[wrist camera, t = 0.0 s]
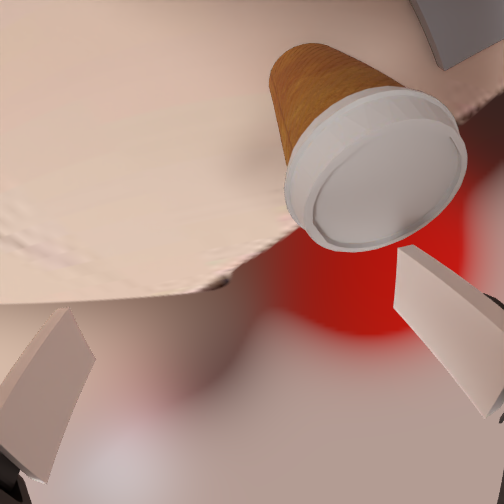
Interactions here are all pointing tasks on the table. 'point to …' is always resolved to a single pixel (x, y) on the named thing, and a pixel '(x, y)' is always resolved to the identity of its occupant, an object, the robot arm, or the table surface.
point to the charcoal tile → (460, 27)
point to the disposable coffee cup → (361, 150)
